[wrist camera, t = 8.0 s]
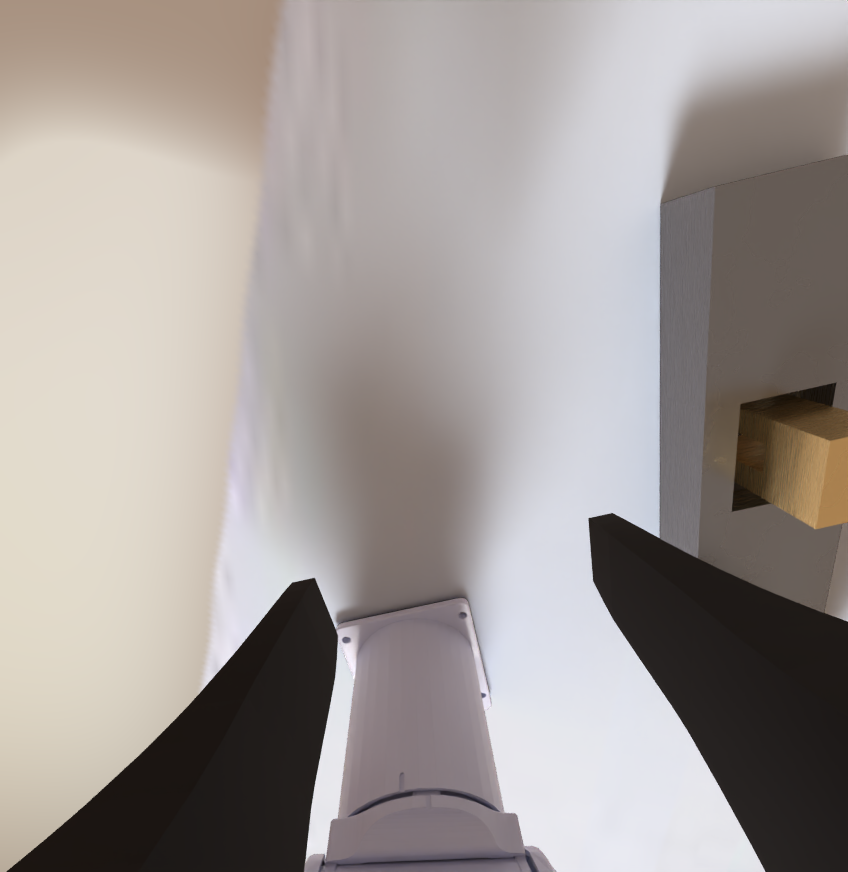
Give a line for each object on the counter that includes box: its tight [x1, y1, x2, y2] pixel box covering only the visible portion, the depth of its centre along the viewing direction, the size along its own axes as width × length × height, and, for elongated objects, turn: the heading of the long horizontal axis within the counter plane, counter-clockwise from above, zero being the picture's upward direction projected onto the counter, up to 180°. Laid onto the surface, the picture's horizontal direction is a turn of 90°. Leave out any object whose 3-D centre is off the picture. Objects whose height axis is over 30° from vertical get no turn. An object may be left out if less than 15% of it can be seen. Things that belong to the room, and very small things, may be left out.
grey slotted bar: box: [660, 155, 848, 613], centre depth 19 cm, size 22×7×3 cm, turn 12°
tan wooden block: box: [734, 394, 848, 529], centre depth 17 cm, size 4×2×6 cm, turn 13°
